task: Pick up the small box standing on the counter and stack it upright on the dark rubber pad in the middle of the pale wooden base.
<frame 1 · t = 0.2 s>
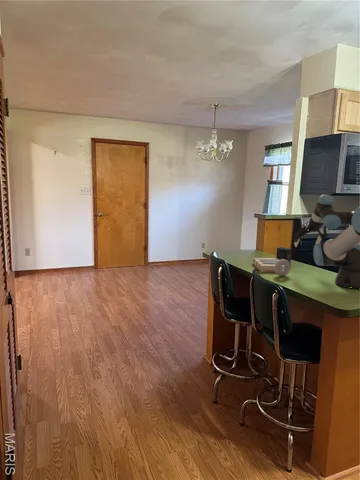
hand: (306, 245, 199), 16 cm above the countertop, tool tilted 35°, fingers open, 13 cm apart
grey wheel: (281, 276, 188), on the countertop
stack base: (269, 267, 206), on the countertop
box: (283, 263, 218), on the countertop
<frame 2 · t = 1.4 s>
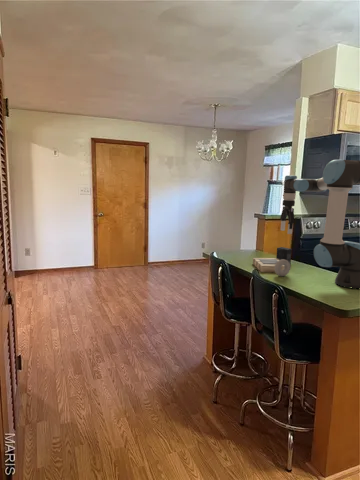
hand: (286, 232, 214), 21 cm above the countertop, tool pointing down, fingers open, 13 cm apart
nothing on the countertop moved.
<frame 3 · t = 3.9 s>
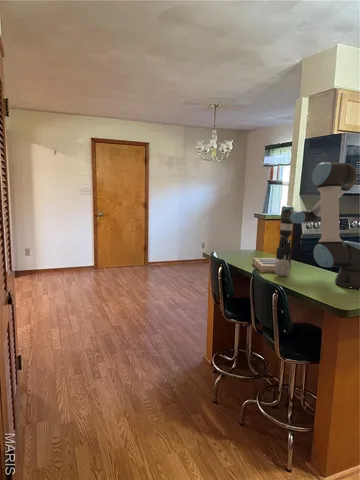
hand: (283, 262, 218), 1 cm above the countertop, tool pointing down, fingers closed on box, 9 cm apart
box: (283, 263, 218), on the countertop, touching gripper
everything else where it was.
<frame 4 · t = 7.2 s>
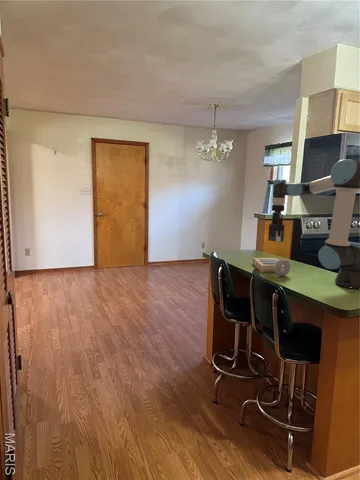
hand: (275, 240, 206), 17 cm above the countertop, tool pointing down, fingers closed on box, 9 cm apart
box: (275, 241, 206), point 17 cm above the countertop, touching gripper
everything else where it was.
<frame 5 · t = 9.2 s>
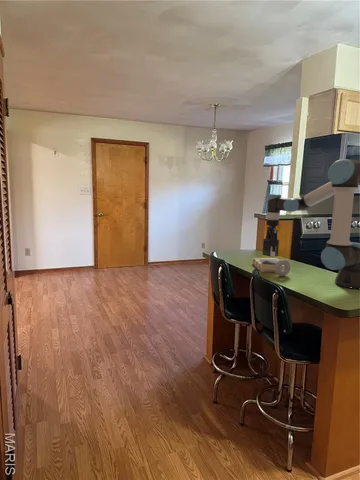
hand: (270, 254, 204), 9 cm above the countertop, tool pointing down, fingers closed on box, 9 cm apart
box: (270, 255, 204), point 8 cm above the countertop, touching gripper
everything else where it was.
when the fingers open (6 cm above the countertop, at t = 10.6 s): box drops 2 cm, resting on stack base.
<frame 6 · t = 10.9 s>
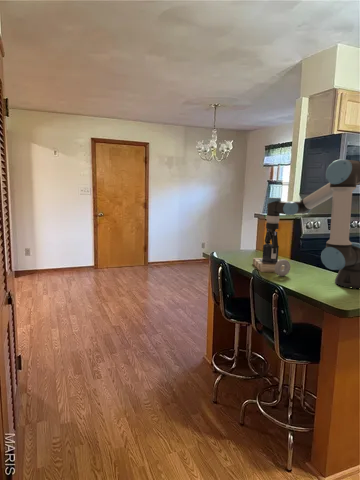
hand: (270, 256, 204), 8 cm above the countertop, tool pointing down, fingers open, 13 cm apart
box: (269, 261, 205), point 4 cm above the countertop, touching stack base
everything else where it was.
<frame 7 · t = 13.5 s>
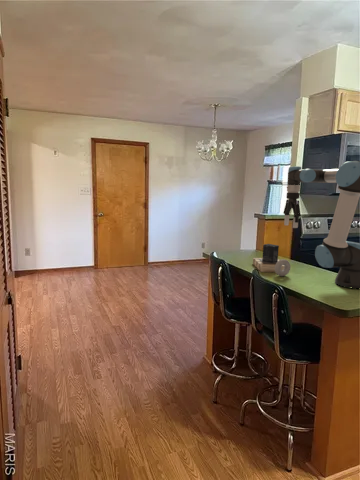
hand: (290, 226, 203), 26 cm above the countertop, tool pointing down, fingers open, 13 cm apart
nothing on the countertop moved.
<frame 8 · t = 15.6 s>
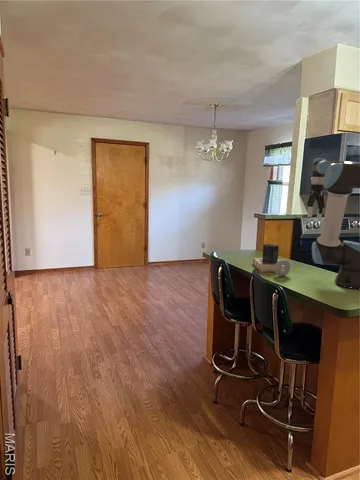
hand: (314, 218, 206), 32 cm above the countertop, tool pointing down, fingers open, 13 cm apart
nothing on the countertop moved.
at the end: box inside the target area on the stack base (0.1 cm from its centre), point 4.1 cm above the stack base's base; box tilted 0°; the gripper is holding nothing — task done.
